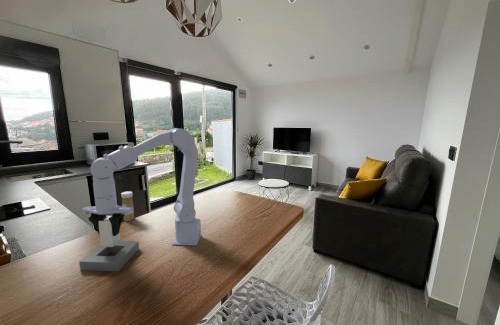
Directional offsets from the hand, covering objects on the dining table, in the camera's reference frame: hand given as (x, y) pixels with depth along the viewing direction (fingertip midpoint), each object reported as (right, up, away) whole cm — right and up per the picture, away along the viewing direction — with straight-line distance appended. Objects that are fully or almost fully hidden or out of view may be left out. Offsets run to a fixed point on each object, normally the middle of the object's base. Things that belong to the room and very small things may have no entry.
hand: (109, 234), depth 70 cm
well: (0, -9, +2) cm, 9 cm away
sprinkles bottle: (-11, -3, +30) cm, 32 cm away
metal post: (0, -3, +1) cm, 4 cm away
